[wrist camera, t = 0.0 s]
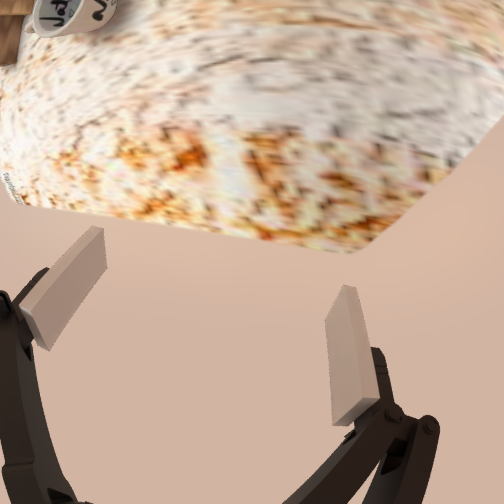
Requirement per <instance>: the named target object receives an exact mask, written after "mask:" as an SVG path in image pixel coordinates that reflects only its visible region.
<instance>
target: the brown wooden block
mask: <svg viewBox="0 0 504 504" xmlns="http://www.w3.org/2000/svg"><path fill="white" fill-rule="evenodd" d="M23 19H24V15H0V67H1V66H5V65H9V64H13V63H16V62H17V54H18V47H19V40H20V34H21V29H22V24H23Z"/></svg>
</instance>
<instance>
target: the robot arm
mask: <svg viewBox="0 0 504 504" xmlns="http://www.w3.org/2000/svg"><path fill="white" fill-rule="evenodd" d="M106 269H107V261H106V253H105V241H104V229H103V228H100V227H96V226H92V227H90V228H89V229H88V230H87V231H86V232H85V233H84V234H83V235H82V236H81V237H80V238H79V239H78V240H77V241H76V242H75V243H74V244H73V245H72V246H71V247H70V248H69V249H68V250H67V251H66V252H65V254H63V255H62V257H61V258H60V259H59V260H58V261H57V262H56V263H55V264H54V265H53V266H52V267H51V268H47V267H46V268H44V269H42V270H41V271H39V272H38V273H37V274H36V275H35V276H34V277H33V278H32V280H30V281H29V283H28V284H27V285H26V286H25V287H24V288H23V289H22V291H21V292H20V293H19V294H18V295H17V296H16V298H15V299H14V300H13V301H12V302H11V300H10V298H9V295H8V294H7V292H5V291H3V290H0V440H1V445H2V449H3V454H4V458H5V465H4V466H3V467H2V476H3V480H4V483H5V486H6V489H7V493H8V496H9V498H10V501H11V504H93V503H89V502H86V501H85V503H84V502H78V501H77V498H76V496H75V494H74V492H73V490H72V487H71V486H70V484H69V483H68V481H67V480H66V479H65V477H64V475H63V473H62V471H61V468H60V465H59V463H58V460H57V457H56V454H55V451H54V447H53V444H52V441H51V438H50V434H49V431H48V427H47V423H46V419H45V415H44V411H43V407H42V402H41V398H40V392H39V388H38V382H37V376H36V370H35V363H34V355H33V347H32V344H31V342H32V340H33V339H35V341H36V343H37V345H38V346H40V347H42V348H44V349H46V350H48V351H50V350H51V348H52V346H53V345H54V343H55V342H56V340H57V338H58V337H59V335H60V334H61V332H62V331H63V329H64V328H65V326H66V325H67V323H68V322H69V320H70V319H71V317H72V316H73V314H74V313H75V312H76V310H77V309H78V307H79V306H80V304H81V303H82V302H83V300H84V299H85V297H86V296H87V294H88V293H89V292H90V290H91V289H92V288H93V286H94V285H95V284H96V282H97V281H98V279H99V278H100V277H101V276H102V274H103V273H104V272H105V270H106ZM325 327H326V338H327V348H328V359H329V374H330V388H331V403H332V404H331V405H332V426H349V425H350V424H351V423H352V422H354V426H355V428H354V429H353V430H352V431H351V432H349V433H348V434H347V435H345V436H344V437H345V439H344V441H343V442H342V443H341V444H340V446H339V447H338V448H337V449H336V450H335V451H334V452H333V453H332V454H331V456H330V457H329V458H328V459H327V460H326V461H325V462H324V463H323V464H322V465H321V466H320V467H319V469H318V470H317V471H316V472H315V473H314V474H313V475H312V476H311V477H310V478H309V479H308V480H307V481H306V482H305V483H304V484H303V485H302V486H301V487H300V488H299V489H297V490H296V491H295V492H294V493H293V494H292V495H291V496H290V497H289V498H288V499H287V500H286V501H284V502H283V503H282V504H347V503H348V502H349V501H350V499H351V498H352V497H353V496H354V495H355V493H356V492H357V491H358V490H359V488H360V487H361V486H362V484H363V483H364V482H365V481H366V479H367V478H368V477H369V475H370V473H371V472H372V471H373V470H374V468H375V467H376V465H377V464H378V463H379V461H380V463H379V465H378V468H377V470H376V473H375V475H374V478H373V480H372V482H371V485H370V487H369V489H368V492H367V494H366V496H365V498H364V500H363V502H362V504H422V501H423V498H424V495H425V492H426V488H427V485H428V481H429V478H430V474H431V470H432V467H433V462H434V458H435V454H436V449H437V445H438V439H439V434H440V426H439V423H438V421H437V420H436V418H434V417H433V416H430V415H425V416H423V417H422V418H420V419H416V418H413V417H410V416H407V415H405V414H404V412H403V410H402V408H401V407H399V405H397V404H395V402H394V398H393V392H392V387H391V383H390V378H389V375H388V369H387V364H386V360H385V356H384V355H383V353H382V351H381V350H380V349H379V348H375V347H370V343H369V338H368V334H367V330H366V325H365V321H364V317H363V313H362V309H361V305H360V300H359V296H358V292H357V289H356V287H351V286H347V285H343V286H342V288H341V290H340V292H339V295H338V296H337V298H336V300H335V302H334V304H333V306H332V308H331V310H330V311H329V313H328V315H327V317H326V319H325Z"/></svg>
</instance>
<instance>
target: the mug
mask: <svg viewBox="0 0 504 504" xmlns="http://www.w3.org/2000/svg"><path fill="white" fill-rule="evenodd" d="M116 7H117V0H37V1H36V4H35V6H34V9H33V15H32V21H30V22H29V23H28V24H27V25H26V26H25V28H24V31H25V32H26V33H36V34H38V35H39V36H41V37H43V38H52V37H57V36H63V35H68V34H75V33H81V32H89V31H94V30H97V29H99V28H101V27H102V26H104V25H105V24H106V23H107V22H108V21H109V20H110V19H111V17H112V16H113V15H114V12H115V10H116Z"/></svg>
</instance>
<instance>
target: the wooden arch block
mask: <svg viewBox="0 0 504 504" xmlns="http://www.w3.org/2000/svg"><path fill="white" fill-rule="evenodd" d="M33 3H34V0H0V15H28V14H31V11H32V7H33Z"/></svg>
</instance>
